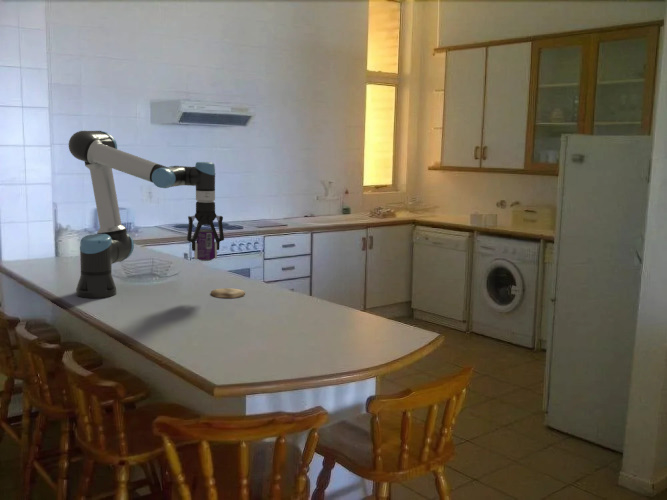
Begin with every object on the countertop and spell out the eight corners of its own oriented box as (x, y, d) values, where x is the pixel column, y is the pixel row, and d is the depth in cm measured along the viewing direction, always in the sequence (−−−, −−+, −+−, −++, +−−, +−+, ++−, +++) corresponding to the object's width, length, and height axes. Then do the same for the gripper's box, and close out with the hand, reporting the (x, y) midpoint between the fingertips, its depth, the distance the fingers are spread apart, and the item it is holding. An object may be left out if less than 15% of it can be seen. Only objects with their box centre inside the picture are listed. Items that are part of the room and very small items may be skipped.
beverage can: (216, 258, 281) (216, 229, 279) (211, 261, 274) (211, 231, 272) (199, 257, 282) (199, 228, 280) (194, 260, 275) (193, 231, 273)
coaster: (214, 298, 278) (214, 296, 278) (207, 290, 290) (207, 288, 290) (248, 297, 283) (248, 295, 283) (240, 289, 296) (240, 287, 296)
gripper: (181, 202, 267) (181, 261, 271) (232, 202, 274) (232, 259, 278) (178, 200, 274) (179, 257, 278) (228, 200, 281) (228, 255, 285)
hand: (205, 258), depth 278 cm, fingers closed on beverage can, 7 cm apart
